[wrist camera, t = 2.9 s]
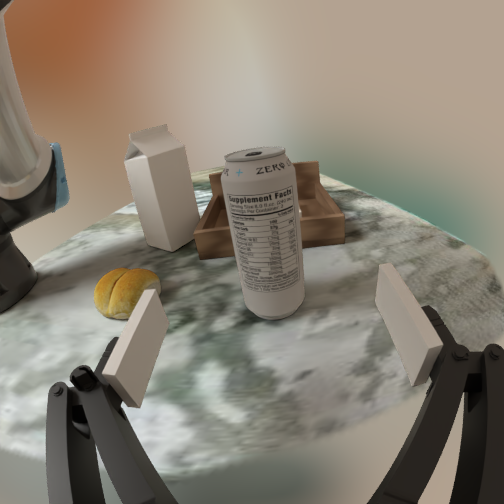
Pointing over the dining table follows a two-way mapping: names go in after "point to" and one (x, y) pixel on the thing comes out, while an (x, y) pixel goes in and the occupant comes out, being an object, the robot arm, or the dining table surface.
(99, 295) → the bread roll
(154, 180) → the milk carton
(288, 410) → the dining table surface
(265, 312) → the energy drink can
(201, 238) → the walled box
